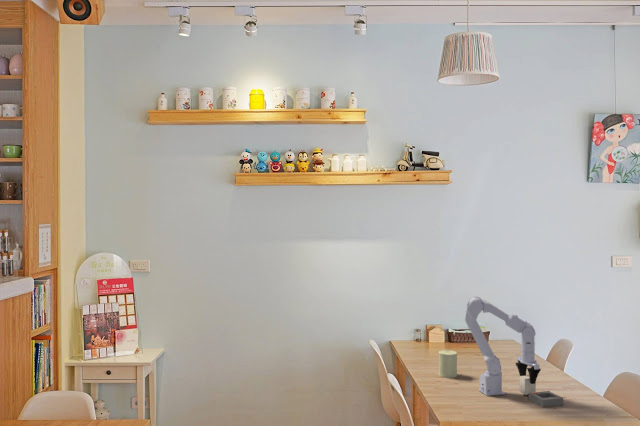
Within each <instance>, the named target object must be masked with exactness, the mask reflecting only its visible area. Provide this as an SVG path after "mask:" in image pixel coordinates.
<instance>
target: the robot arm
mask: <svg viewBox="0 0 640 426" xmlns="http://www.w3.org/2000/svg"><path fill="white" fill-rule="evenodd" d="M480 313H490V314H492V315H493V316H495V317H497V318H499V319H500V320H503V321H504V323H505V326H507V327H508V328H510V329H511V330H513V331H515V332H516V333H519V334H521V340H520V349H521V350H520V355H521V356H517V357H516V362H515V366H516V368H517V370H518V374H519V377H520V376H527V371H528V375H529V377H530V384H535V383H537V382H536V381H537V379H538V376H539V373H540V372H541V368H540V364H539V363H538V362H537V360H536V359H535V353H536V352H535V350H536V349H535V348H536V347H535V346H536V344H535V343H536V342H535V337H536V330H535V328H534V326H533V325H532V324H531V323H529V322H528V321H527V320H525V321H524V320H522V319H521V318H520V317H519V315H517V314H513V313H512V314H507V313H506V312H504V311H503V310H501V309H500V308H499V307H497V306H495V305H493V304H492V303H491V302H489V301H487V300H485V299H482V298H481V297H479V296H472V297H471V298H470V299H469V300H468V302H467V303H466V310H465V319H464V321H465V323H466V325H467V327H468V328H469V331H470V333H471V335H472V337H473V339H474V340H475V343H476V345H477V346H478V349H479V350H480V353H481V354H482V357H483V360H484V362H485V363H486V370H485V372H484V373H481V374H480V375H479V381H478V383H479V387H478V388H479V389H478V392H480V393H483V395H485V396H487V397H488V396H500V395H506V392H504V391H503V390H502V387H503V386H502V385H503V384H502V383H503V382H502V381H503V379H502V378H503V374H502V373H503V372H502V365H501V360H500V358H499V357H498V356H496V355H495V353H494V352H493V350H492V348H491V346H490V344H489V343H488V340H487V338H486V337H485V334H484V333H483V331H482V328H481V327H480V325H479V322H478V321H477V319H478V316H479V315H480Z"/></svg>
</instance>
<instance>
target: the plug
mask: <svg viewBox="0 0 640 426" xmlns="http://www.w3.org/2000/svg"><path fill="white" fill-rule="evenodd" d="M536 383H537V382H536ZM536 383H535V384H530V377H529V374H528V375H527V374H526V376H520V375H519V392H520V393H522V394H523V396H525V397H526V395H529V393H531V392H537V391H536V389H537V388H536V385H537V384H536Z"/></svg>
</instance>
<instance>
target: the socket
mask: <svg viewBox="0 0 640 426" xmlns="http://www.w3.org/2000/svg"><path fill="white" fill-rule="evenodd" d="M528 400H529V401H531V402H532V403H535V404H536V405H537V406H540V407H542V408H547V407H557V406H564V398H563V397H562V396H559V395H557V394H555V393H554V392H551V391H550V390H546V391H545V390H544V391H543V390H542V391H536V392H531V393H529V394H528Z"/></svg>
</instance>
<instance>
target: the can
mask: <svg viewBox="0 0 640 426" xmlns="http://www.w3.org/2000/svg"><path fill="white" fill-rule="evenodd" d="M438 376H439V377H441V378H447V379H449V378H451V379H453V378H457V377H458V352H457V351H455V350H449V349H448V350H447V349H444V350H443V349H442V350H439V351H438Z"/></svg>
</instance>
